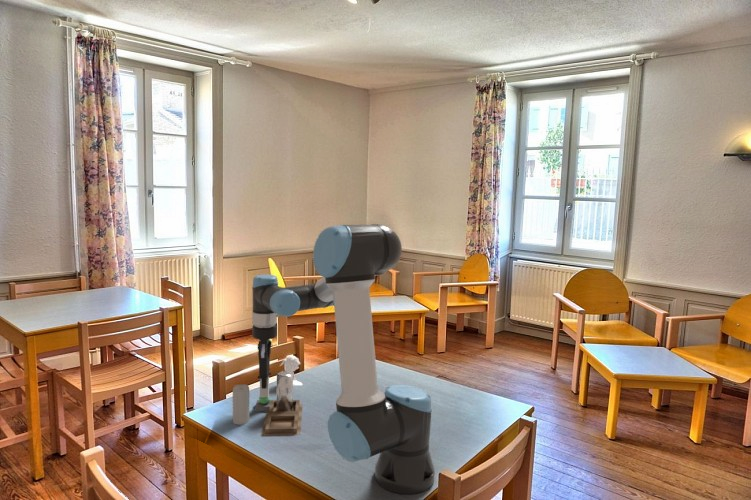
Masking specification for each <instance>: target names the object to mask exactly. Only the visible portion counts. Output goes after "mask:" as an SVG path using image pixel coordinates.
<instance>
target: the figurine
mask: <svg viewBox="0 0 751 500" xmlns="http://www.w3.org/2000/svg"><path fill="white" fill-rule="evenodd" d="M282 365H283V366H284V370H281V372H284V371H287V372H291V373H293V386H303V383H302V382H301V381H299V380H297V379H296V375H295V373H294V372H295V371H296V370H298V369H299V368H300V367H299V366H300V365H301V362H300V359H299V357H296V356H295V355H287V356H286V357H285V358H283V360H282V362H281V364H280V365H279V367H281V366H282Z"/></svg>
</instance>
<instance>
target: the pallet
mask: <svg viewBox="0 0 751 500" xmlns="http://www.w3.org/2000/svg"><path fill="white" fill-rule="evenodd" d="M276 404H277V399H275V400H274V399H270V401H269V403H267V404H261V403H259V399H257V400H256V403H255V408H254V409H255V411H254V412H266V413H265V417H264V421H263V426H262V431H261V436H283V435H285V436H287V435H288V436H289V435H291V436H293V435H301V433H302V418H303V417H302V415H303V403H300V399H293V411H277V412H276Z"/></svg>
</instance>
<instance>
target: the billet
mask: <svg viewBox="0 0 751 500" xmlns="http://www.w3.org/2000/svg"><path fill="white" fill-rule="evenodd" d="M293 380H294V379H293V373H291V372H287V371H285V370H283V372H282V371H280V372H277V373H276V400H277V404H276V412H277V411H293V400H294V398H293V397H294V396H293V395H294V385H293Z"/></svg>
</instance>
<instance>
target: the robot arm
mask: <svg viewBox="0 0 751 500" xmlns="http://www.w3.org/2000/svg"><path fill="white" fill-rule="evenodd" d="M402 251H403V248H402V243H401V239H400V237H399V236H398V234H397V233H396V232H395V231H394V230H393V229H392V228H390V227H388V226H387V225H383V224H378V223H377V224H376V223H375V224H374V223H373V224H340V225H334V226H328V227H326V228H324V229H323V230H322V231H320V233H319V235H318V237H317V238H316V241H315V242H314V246H313V253H312V254H313V255H312V257H313V265H314V268H315V269H316V272H317V274H318V275H319V276H320V277H321V278H320V279H319V280H317V281H315V282H314V283H312V284H304V285H297V286H295V285H293V286H287V287H282V286H280V285H279V282H278V277H277V275H273V274H259V275H255V276H254V277H253V279H252V287H251V289H252V310H251V311H252V312H251V313H252V316H251V318H252V319H251V320H252V321H251V322H252V324H253V325H252V328H251V330H252V332H251V333H252V337H253V339H255V340H258V343H257V351H258V352H257V355H258V372H259V373H258V375H257V379H259V397H260V398H263V397H270V376H272V372H270V370H271V369H270V361H271V359H270V357H271V352H272V351H271V350H272V345H273V344H272V339H275V338H276V337H277V336H278V325H277V323H278V318H279V317H280V316H281V317H282V316H283V317H285V318H286V317H287V318H288V317H289V318H290V317H292V316H293V315H295V314H296V313H298V312H300V311H301V312H302V311H307V310H309V311H310V310H313V309H315V310H317V309H322V308H323V309H325V308H328V307H334V308H333V309H334V317H335V318H334V319H335V331H336V339H337V341H336V344H337V352H338V353H337V355H338V364H339V375H340V379H339V380H340V387H341V393H340V395H339V396H338V397H337V398H336V400H335V407H336V411H334V412H333V413H331V414H330V415H329V417H328V420H327V431H328V435H329V439H330V442H331V444H332V446H333V447H334V450H336V452H337V454H338V455H339V456H340V457H341V458H342V459H343V460H345V461H347V462H351V463H356V462H359V461H362V460H363V461H364V460H368V459H370V458H371V457H373V456H376V455H378V454H379V455H378V457H377V460H376V463H375V466H374V468H375V469H374V477H375V480H376V482H377V483H378V484H379V485H380V486H381V487H382V488H383V489H386V490H387V491H390V492H392V493H396V494H402V495H405V494H406V495H413V494H415V495H416V494H419V493H422V492H425V491H427V490H428V489H430V488H431V487H432V486H433V484H434V482H435V473H436V472H435V467H434V463H433V460H432V455H431V452H430V435H431V423H432V422H431V421H432V398H431V396H430V394H429V393H428V392H427V391H425V390H424V389H421V388H419V387H416V386H413V385H407V384H392V385H388V386H387V387H386V388H385V391H384V392H382V391H381V390H380V389H379V383H378V375H377V374H378V373H377V372H378V371H377V361H376V351H375V349H376V348H375V339H374V328H373V326H374V325H373V316H372V305H371V303H372V302H371V294H370V293H371V292H370V287H371V286H372V285H373V284H374V282H375V281H376V276H382V275H383V274H386V273H387V272H388V271H390V270H391V269H393V268H394V267H395V266H397V264H398V263H399V260H400V259H401V256H402Z"/></svg>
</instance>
